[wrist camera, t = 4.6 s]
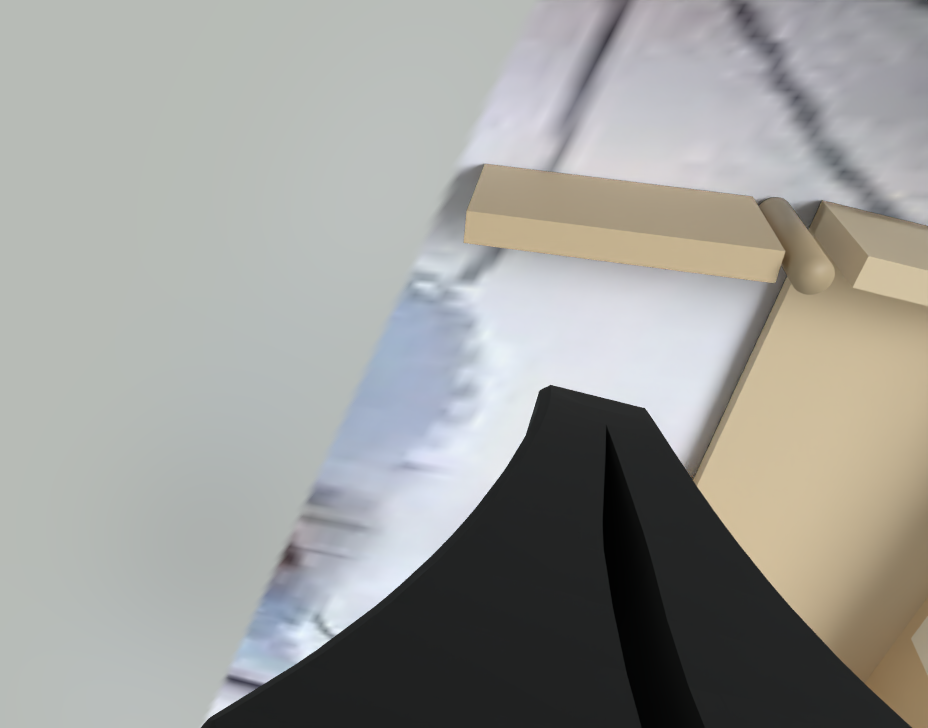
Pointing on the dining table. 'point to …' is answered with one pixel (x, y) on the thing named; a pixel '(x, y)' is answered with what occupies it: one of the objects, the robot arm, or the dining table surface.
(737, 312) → the dining table surface
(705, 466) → the open cardboard tray
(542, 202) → the flap
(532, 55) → the dining table surface
